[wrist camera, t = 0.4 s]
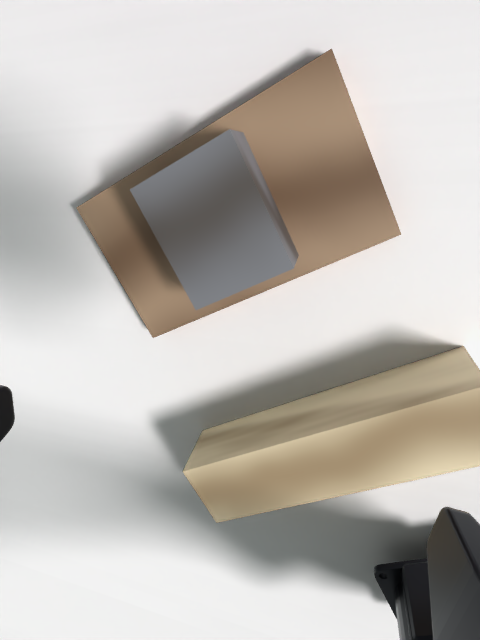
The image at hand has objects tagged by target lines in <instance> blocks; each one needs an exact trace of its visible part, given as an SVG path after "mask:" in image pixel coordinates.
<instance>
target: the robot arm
mask: <svg viewBox="0 0 480 640" xmlns="http://www.w3.org/2000/svg"><path fill="white" fill-rule="evenodd" d="M14 420H15V415H14V407H13V398H12V392H11V390H10V389H9V388H8V387H6V386H2V385H0V442H1V441H2V439H3V438H4V437H5V436H6V434H7V433H8V432H9V431H10V429H11V428H12V426H13V424H14ZM374 573H375V578H376V580H377V582H378V584H379V586H380V588H381V589H382V591H383V593H384V595H385V597H386V599H387V601H388V603H389V605H390V607H391V609H392V611H393V613H394V615H395V617H396V618H397V621H398V628H399V636H400V640H480V524H479V523H478V522H477V521H476V520H475V519H474V518H473V517H472V516H471V515H470V514H469V513H467V512H465V511H461V510H457V509H454V508H450V507H444V508H443V509H442V510H441V511H440V513H439V515H438V517H437V520H436V522H435V524H434V526H433V529H432V531H431V533H430V535H429V538H428V542H427V559H420V560H412V561H404V562H395V563H387V564H380V565H377V566H375V568H374Z"/></svg>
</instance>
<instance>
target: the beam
mask: <svg viewBox="0 0 480 640" xmlns="http://www.w3.org/2000/svg"><path fill="white" fill-rule="evenodd" d="M478 466H480V370H479V368H478V367H477V365H476V364H475V362H474V361H473V359H472V358H471V356H470V355H469V353H468V352H467V350H466V349H465V347H464V346H462V347H459V348H456V349H453V350H450V351H447V352H444V353H440V354H437V355H434V356H431V357H428V358H425V359H422V360H419V361H416V362H413V363H410V364H406V365H403V366H400V367H397V368H394V369H391V370H388V371H385V372H382V373H379V374H376V375H372V376H369V377H366V378H363V379H360V380H357V381H354V382H351V383H348V384H345V385H341V386H338V387H335V388H332V389H329V390H326V391H323V392H320V393H317V394H314V395H311V396H307V397H304V398H301V399H298V400H295V401H292V402H289V403H286V404H283V405H280V406H277V407H273V408H270V409H267V410H264V411H261V412H258V413H255V414H252V415H249V416H246V417H242V418H239V419H236V420H233V421H230V422H227V423H224V424H221V425H218V426H215V427H212V428H208V429H205V430H203V431H202V433H201V435H200V437H199V439H198V441H197V443H196V445H195V447H194V449H193V451H192V453H191V455H190V457H189V459H188V461H187V463H186V465H185V468H184V470H183V473H184V475H185V476H186V478H187V479H188V481H189V482H190V484H191V485H192V487H193V488H194V490H195V491H196V493H197V494H198V496H199V497H200V499H201V500H202V502H203V503H204V505H205V506H206V508H207V509H208V511H209V512H210V514H211V515H212V517H213V518H214V520H215V521H216V523H219V522H223V521H228V520H232V519H237V518H242V517H246V516H251V515H256V514H260V513H265V512H269V511H274V510H279V509H283V508H288V507H293V506H297V505H302V504H306V503H311V502H316V501H320V500H325V499H330V498H334V497H339V496H343V495H348V494H353V493H357V492H362V491H367V490H371V489H376V488H381V487H385V486H390V485H394V484H399V483H404V482H408V481H413V480H418V479H422V478H427V477H431V476H436V475H441V474H445V473H450V472H455V471H459V470H464V469H468V468H473V467H478Z"/></svg>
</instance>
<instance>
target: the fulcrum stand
mask: <svg viewBox="0 0 480 640" xmlns="http://www.w3.org/2000/svg"><path fill="white" fill-rule="evenodd" d="M77 210H78V212H79V213H80V215H81V217H82V219H83V220H84V222H85V224H86V225H87V227H88V229H89V230H90V232H91V234H92V235H93V237H94V239H95V241H96V242H97V244H98V246H99V247H100V249H101V251H102V252H103V254H104V256H105V257H106V259H107V261H108V263H109V264H110V266H111V268H112V269H113V271H114V273H115V274H116V276H117V278H118V279H119V281H120V283H121V285H122V286H123V288H124V290H125V291H126V293H127V295H128V296H129V298H130V300H131V301H132V303H133V305H134V307H135V308H136V310H137V312H138V313H139V315H140V317H141V318H142V320H143V322H144V323H145V325H146V327H147V329H148V330H149V332H150V334H151V335H152V337H153V338H154V337H157V336H159V335H162V334H164V333H166V332H169V331H171V330H173V329H176V328H178V327H181V326H183V325H185V324H188V323H190V322H193V321H195V320H197V319H200V318H202V317H205V316H207V315H209V314H212V313H214V312H217V311H219V310H221V309H224V308H226V307H229V306H231V305H233V304H236V303H238V302H241V301H243V300H245V299H248V298H250V297H252V296H255V295H257V294H260V293H262V292H264V291H267V290H269V289H272V288H274V287H276V286H279V285H281V284H284V283H286V282H288V281H291V280H293V279H296V278H298V277H300V276H303V275H305V274H308V273H310V272H312V271H315V270H317V269H320V268H322V267H324V266H327V265H329V264H331V263H334V262H336V261H339V260H341V259H343V258H346V257H348V256H351V255H353V254H355V253H358V252H360V251H363V250H365V249H367V248H370V247H372V246H375V245H377V244H379V243H382V242H384V241H387V240H389V239H391V238H394V237H396V236H399V235H401V232H400V230H399V227H398V224H397V222H396V219H395V216H394V214H393V211H392V208H391V206H390V203H389V200H388V198H387V195H386V192H385V190H384V187H383V184H382V182H381V179H380V176H379V174H378V171H377V168H376V166H375V163H374V160H373V158H372V155H371V152H370V150H369V147H368V144H367V142H366V139H365V136H364V134H363V131H362V128H361V126H360V123H359V120H358V118H357V115H356V112H355V110H354V107H353V104H352V102H351V99H350V96H349V94H348V91H347V88H346V86H345V83H344V80H343V78H342V75H341V72H340V70H339V67H338V64H337V62H336V59H335V56H334V54H333V51H332V49H330V50H329V51H327V52H325V53H324V54H322V55H321V56H319V57H317V58H316V59H314V60H313V61H311V62H309V63H308V64H306V65H305V66H303V67H301V68H300V69H298V70H297V71H295V72H293V73H292V74H290V75H289V76H287V77H285V78H284V79H282V80H281V81H279V82H277V83H276V84H274V85H273V86H271V87H269V88H268V89H266V90H265V91H263V92H261V93H260V94H258V95H256V96H255V97H253V98H252V99H250V100H248V101H247V102H245V103H244V104H242V105H240V106H239V107H237V108H236V109H234V110H232V111H231V112H229V113H228V114H226V115H224V116H223V117H221V118H220V119H218V120H216V121H215V122H213V123H212V124H210V125H208V126H207V127H205V128H204V129H202V130H200V131H199V132H197V133H195V134H194V135H192V136H191V137H189V138H187V139H186V140H184V141H183V142H181V143H179V144H178V145H176V146H175V147H173V148H171V149H170V150H168V151H167V152H165V153H163V154H162V155H160V156H159V157H157V158H155V159H154V160H152V161H151V162H149V163H147V164H146V165H144V166H143V167H141V168H139V169H138V170H136V171H135V172H133V173H131V174H130V175H128V176H126V177H125V178H123V179H122V180H120V181H118V182H117V183H115V184H114V185H112V186H110V187H109V188H107V189H106V190H104V191H102V192H101V193H99V194H98V195H96V196H94V197H93V198H91V199H90V200H88V201H86V202H85V203H83V204H82V205H80V206H78V207H77Z"/></svg>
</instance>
